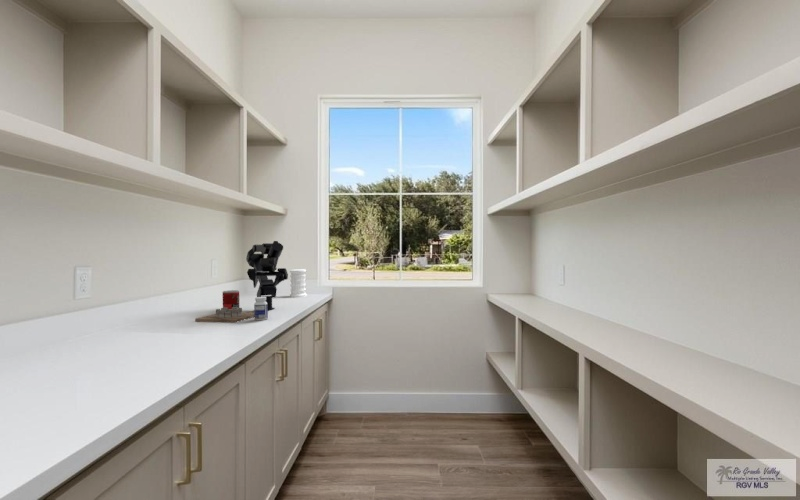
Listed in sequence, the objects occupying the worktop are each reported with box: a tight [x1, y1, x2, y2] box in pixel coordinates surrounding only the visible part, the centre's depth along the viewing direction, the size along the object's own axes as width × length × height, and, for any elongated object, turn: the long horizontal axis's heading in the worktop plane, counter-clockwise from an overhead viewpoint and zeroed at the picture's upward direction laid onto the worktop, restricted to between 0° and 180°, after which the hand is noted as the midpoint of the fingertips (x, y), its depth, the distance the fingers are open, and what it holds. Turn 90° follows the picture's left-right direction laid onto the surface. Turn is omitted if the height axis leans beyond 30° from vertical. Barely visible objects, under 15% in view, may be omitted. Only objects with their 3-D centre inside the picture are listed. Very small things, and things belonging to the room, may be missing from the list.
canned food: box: [222, 289, 240, 309], centre depth 212 cm, size 8×8×11 cm
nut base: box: [194, 306, 255, 323], centre depth 194 cm, size 20×20×4 cm
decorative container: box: [289, 269, 308, 298], centre depth 286 cm, size 12×12×18 cm
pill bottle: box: [253, 296, 269, 321], centre depth 189 cm, size 6×6×10 cm
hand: (263, 287), depth 200 cm, fingers open, 9 cm apart
